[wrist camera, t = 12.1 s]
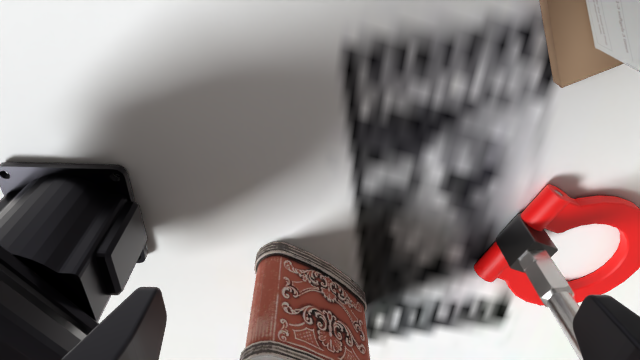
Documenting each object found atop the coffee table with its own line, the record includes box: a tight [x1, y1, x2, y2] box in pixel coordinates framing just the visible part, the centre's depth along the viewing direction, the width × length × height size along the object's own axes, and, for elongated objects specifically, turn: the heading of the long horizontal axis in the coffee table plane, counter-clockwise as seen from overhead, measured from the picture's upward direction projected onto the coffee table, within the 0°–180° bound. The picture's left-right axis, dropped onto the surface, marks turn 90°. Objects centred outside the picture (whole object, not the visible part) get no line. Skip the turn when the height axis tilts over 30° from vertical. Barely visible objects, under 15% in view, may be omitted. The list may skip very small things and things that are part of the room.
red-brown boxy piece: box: [240, 242, 370, 360], centre depth 23 cm, size 8×3×10 cm, turn 49°
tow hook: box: [474, 184, 640, 360], centre depth 21 cm, size 8×13×9 cm
